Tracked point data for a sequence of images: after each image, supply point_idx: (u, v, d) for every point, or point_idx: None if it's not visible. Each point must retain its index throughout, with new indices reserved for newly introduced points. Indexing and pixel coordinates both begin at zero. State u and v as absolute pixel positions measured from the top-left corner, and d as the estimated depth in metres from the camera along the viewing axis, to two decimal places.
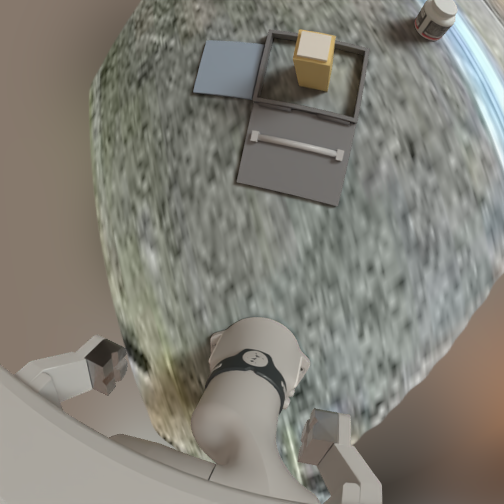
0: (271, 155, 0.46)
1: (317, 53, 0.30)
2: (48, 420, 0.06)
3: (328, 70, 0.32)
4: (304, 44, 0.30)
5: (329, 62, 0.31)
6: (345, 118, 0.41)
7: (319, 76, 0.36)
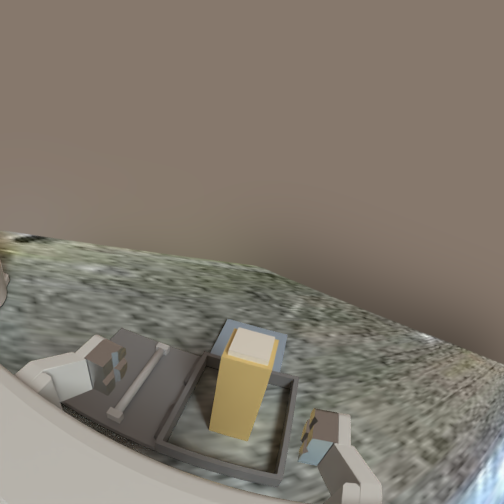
0: (137, 358, 0.37)
1: (239, 343, 0.27)
2: (48, 420, 0.06)
3: (219, 369, 0.26)
4: (253, 335, 0.28)
5: (227, 357, 0.26)
6: (162, 430, 0.27)
7: None
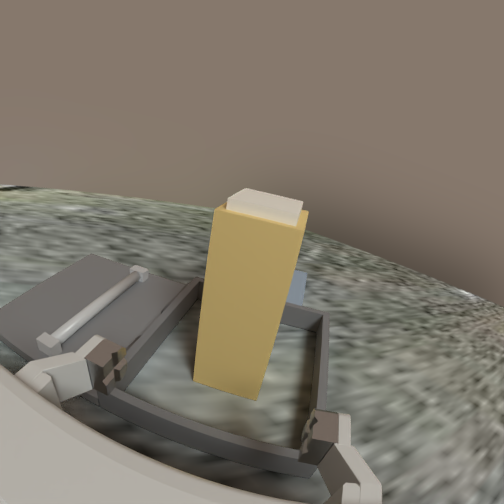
0: (102, 283, 0.27)
1: (247, 196, 0.16)
2: (48, 420, 0.06)
3: None
4: (269, 195, 0.18)
5: (224, 210, 0.15)
6: None
7: None
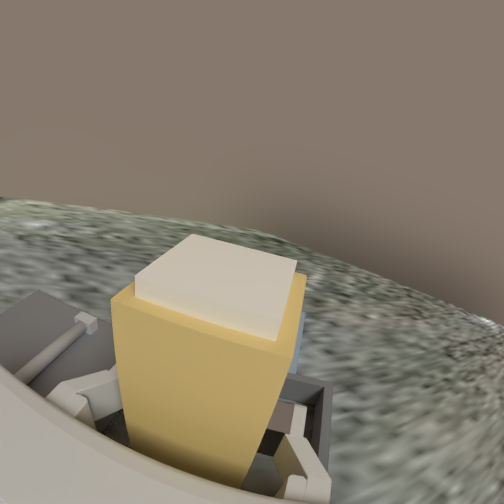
0: (42, 335, 0.18)
1: (182, 264, 0.08)
2: (48, 420, 0.06)
3: None
4: (232, 251, 0.10)
5: (129, 302, 0.07)
6: None
7: None
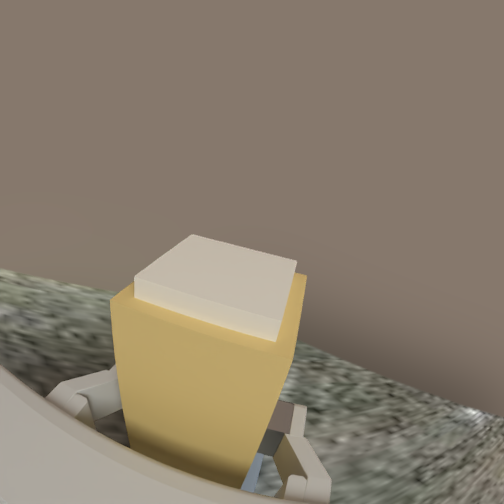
0: None
1: (181, 264, 0.08)
2: (48, 420, 0.06)
3: None
4: (232, 251, 0.10)
5: (128, 303, 0.07)
6: None
7: None
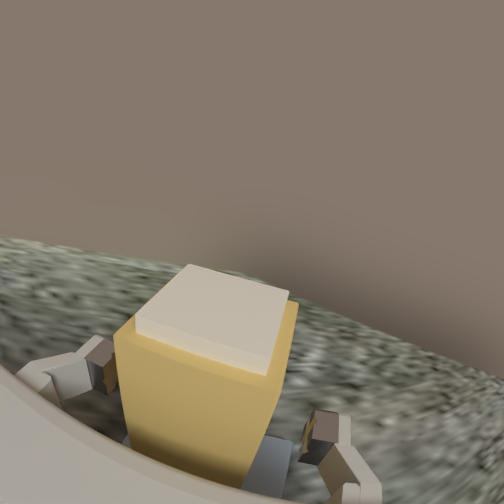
0: None
1: (179, 299, 0.09)
2: (48, 420, 0.06)
3: None
4: (226, 283, 0.10)
5: (130, 338, 0.07)
6: None
7: None
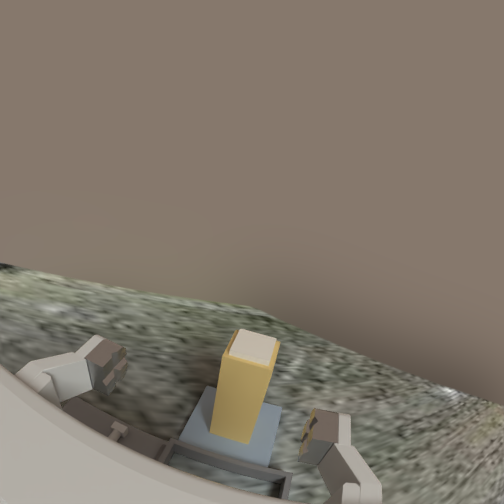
0: None
1: (241, 343, 0.27)
2: (48, 420, 0.06)
3: (220, 369, 0.26)
4: (255, 336, 0.28)
5: (228, 356, 0.26)
6: None
7: None
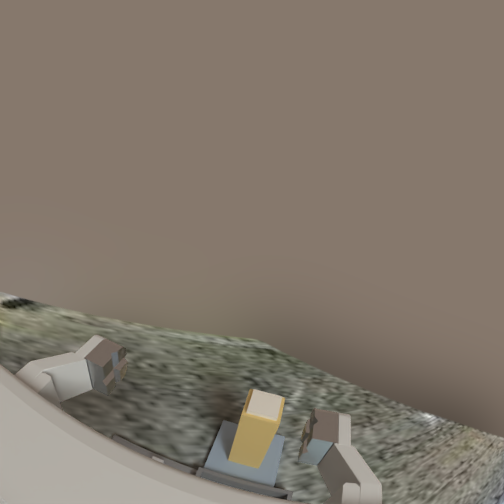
0: None
1: (255, 403, 0.33)
2: (48, 420, 0.06)
3: (239, 422, 0.32)
4: (265, 396, 0.34)
5: (245, 414, 0.32)
6: None
7: None
